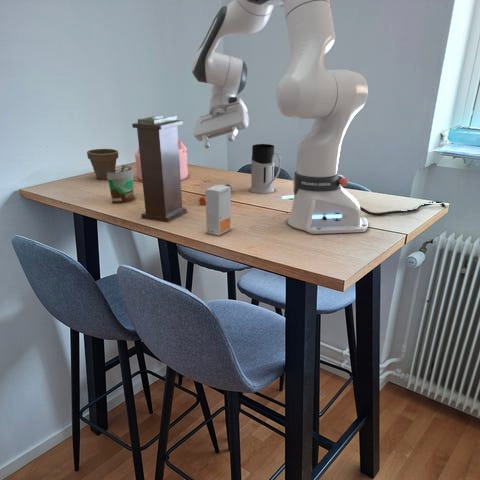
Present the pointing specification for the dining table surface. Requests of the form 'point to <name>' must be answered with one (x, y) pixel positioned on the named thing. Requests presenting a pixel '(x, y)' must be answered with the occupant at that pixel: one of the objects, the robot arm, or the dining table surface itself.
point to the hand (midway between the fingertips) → (219, 143)
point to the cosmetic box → (218, 209)
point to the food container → (121, 184)
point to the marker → (203, 199)
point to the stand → (160, 167)
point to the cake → (181, 159)
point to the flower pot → (103, 161)
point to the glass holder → (263, 168)
